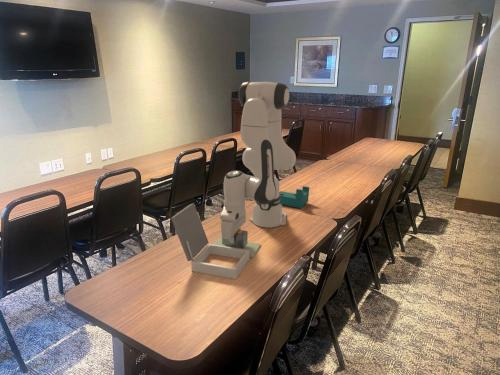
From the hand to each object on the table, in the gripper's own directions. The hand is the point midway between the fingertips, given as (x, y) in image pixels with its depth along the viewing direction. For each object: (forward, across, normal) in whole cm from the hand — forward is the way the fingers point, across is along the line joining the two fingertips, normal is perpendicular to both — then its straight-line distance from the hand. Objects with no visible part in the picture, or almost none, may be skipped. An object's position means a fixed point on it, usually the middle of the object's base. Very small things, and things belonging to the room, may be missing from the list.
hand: (234, 239), depth 153 cm
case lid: (-9, +15, -12) cm, 21 cm away
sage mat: (+4, 0, 0) cm, 4 cm away
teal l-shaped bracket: (+5, -64, +11) cm, 65 cm away
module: (+2, 0, 0) cm, 2 cm away
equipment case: (+4, +15, -1) cm, 16 cm away
